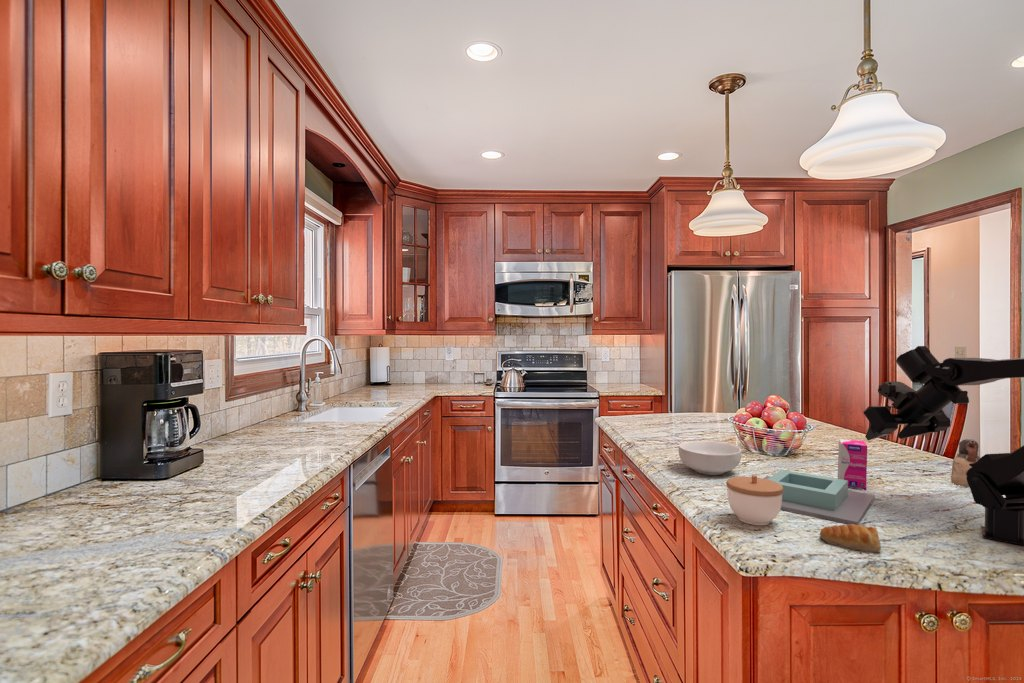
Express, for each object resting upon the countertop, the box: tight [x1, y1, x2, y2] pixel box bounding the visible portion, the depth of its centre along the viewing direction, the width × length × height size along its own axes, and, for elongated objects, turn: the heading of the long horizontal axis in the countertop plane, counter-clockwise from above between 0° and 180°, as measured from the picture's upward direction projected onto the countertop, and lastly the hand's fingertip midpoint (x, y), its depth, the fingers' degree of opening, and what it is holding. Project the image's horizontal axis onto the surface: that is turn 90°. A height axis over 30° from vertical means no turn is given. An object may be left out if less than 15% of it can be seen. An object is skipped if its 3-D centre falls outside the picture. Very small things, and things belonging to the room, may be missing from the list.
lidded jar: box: [726, 474, 783, 526], centre depth 108 cm, size 11×11×9 cm
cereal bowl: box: [678, 440, 742, 476], centre depth 146 cm, size 17×17×7 cm
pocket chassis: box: [762, 469, 876, 525], centre depth 122 cm, size 24×24×4 cm
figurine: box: [950, 438, 981, 488], centre depth 134 cm, size 7×7×12 cm
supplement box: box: [837, 438, 868, 491], centre depth 133 cm, size 6×6×12 cm
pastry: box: [819, 524, 882, 553], centre depth 97 cm, size 9×7×4 cm
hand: (883, 437), depth 125 cm, fingers open, 9 cm apart
